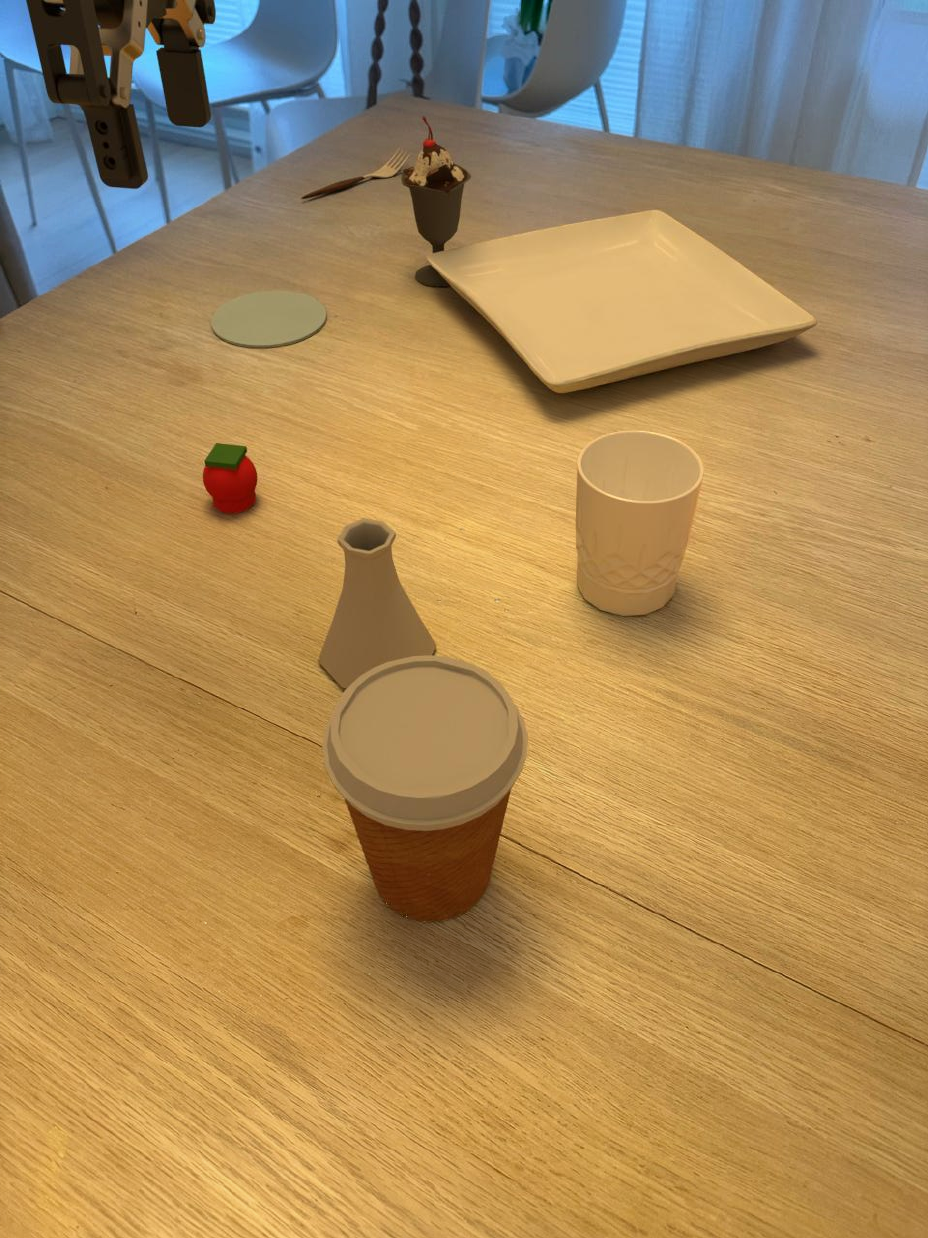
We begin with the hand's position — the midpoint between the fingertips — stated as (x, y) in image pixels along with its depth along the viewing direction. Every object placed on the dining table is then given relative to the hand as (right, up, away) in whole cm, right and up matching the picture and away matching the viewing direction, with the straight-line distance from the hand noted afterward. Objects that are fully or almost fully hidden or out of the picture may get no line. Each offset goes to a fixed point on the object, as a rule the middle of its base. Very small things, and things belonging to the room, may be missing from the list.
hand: (160, 153), depth 55 cm
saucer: (-3, +5, +47) cm, 47 cm away
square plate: (+30, +4, +46) cm, 55 cm away
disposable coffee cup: (+14, -38, +2) cm, 40 cm away
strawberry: (-2, -15, +26) cm, 30 cm away
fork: (+3, +28, +71) cm, 76 cm away
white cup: (+27, -22, +18) cm, 39 cm away
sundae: (+13, +11, +53) cm, 56 cm away
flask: (+10, -27, +13) cm, 32 cm away
